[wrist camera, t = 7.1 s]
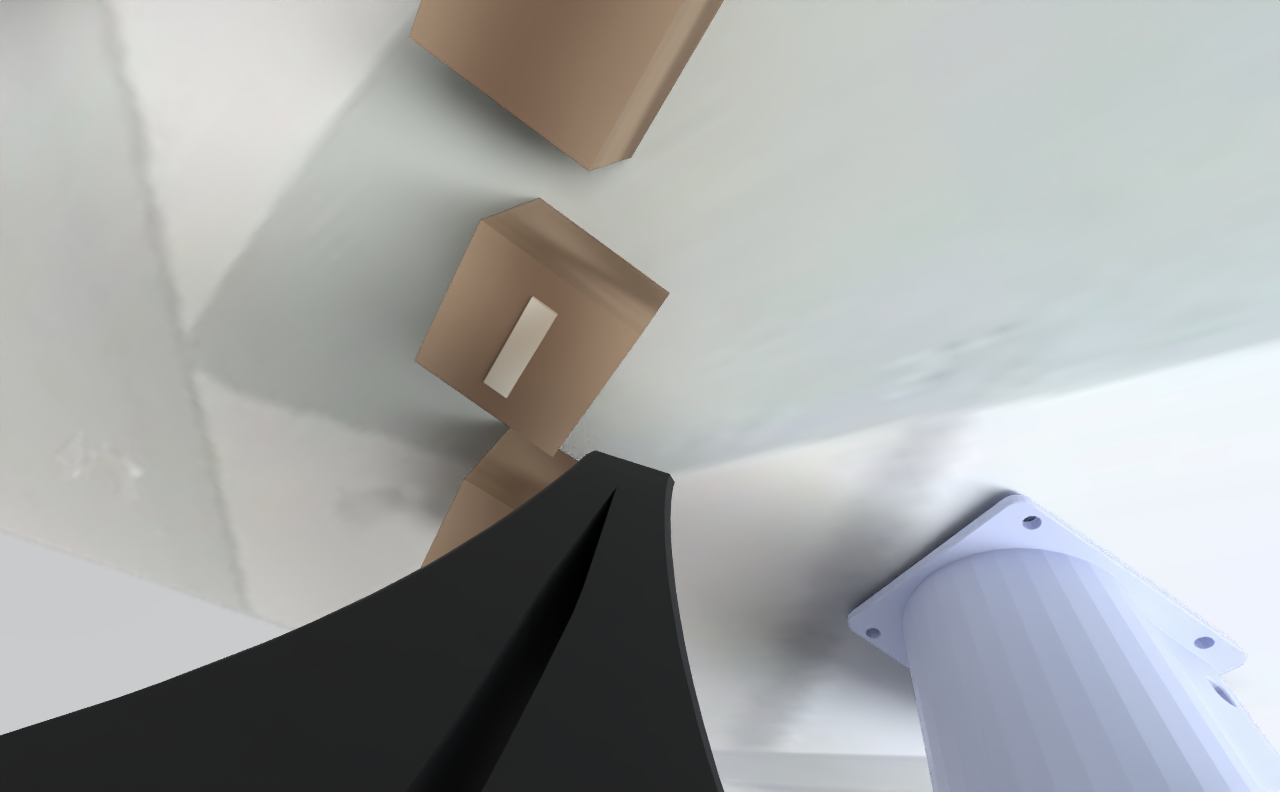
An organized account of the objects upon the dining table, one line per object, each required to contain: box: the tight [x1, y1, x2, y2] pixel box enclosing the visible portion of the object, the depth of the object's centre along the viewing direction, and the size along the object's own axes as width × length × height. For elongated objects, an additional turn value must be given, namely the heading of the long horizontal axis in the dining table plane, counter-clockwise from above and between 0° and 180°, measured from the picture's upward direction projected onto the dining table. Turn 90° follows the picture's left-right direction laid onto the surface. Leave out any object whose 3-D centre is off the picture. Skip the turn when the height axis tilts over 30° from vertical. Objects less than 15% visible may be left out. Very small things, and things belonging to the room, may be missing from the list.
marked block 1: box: [414, 198, 669, 457], centre depth 18 cm, size 5×5×4 cm
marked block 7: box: [421, 428, 579, 568], centre depth 22 cm, size 5×5×4 cm
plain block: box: [409, 0, 724, 171], centre depth 14 cm, size 5×5×4 cm
